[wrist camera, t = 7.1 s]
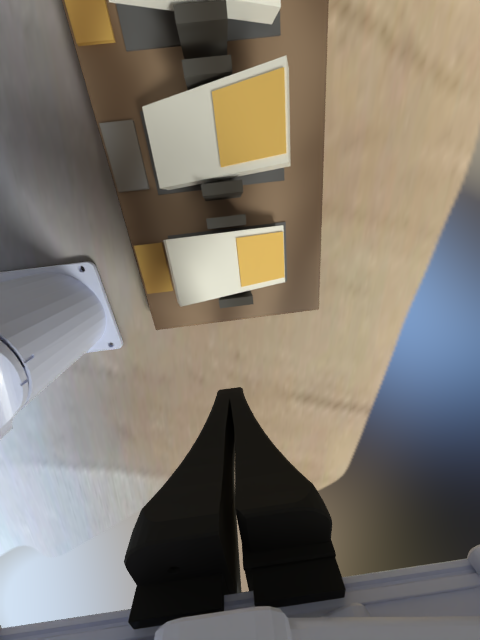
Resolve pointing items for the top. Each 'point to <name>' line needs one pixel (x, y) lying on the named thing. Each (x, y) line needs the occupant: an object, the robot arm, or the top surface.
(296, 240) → the switch panel
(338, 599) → the robot arm
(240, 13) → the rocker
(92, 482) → the top surface
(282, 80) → the rocker middle
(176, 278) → the block
